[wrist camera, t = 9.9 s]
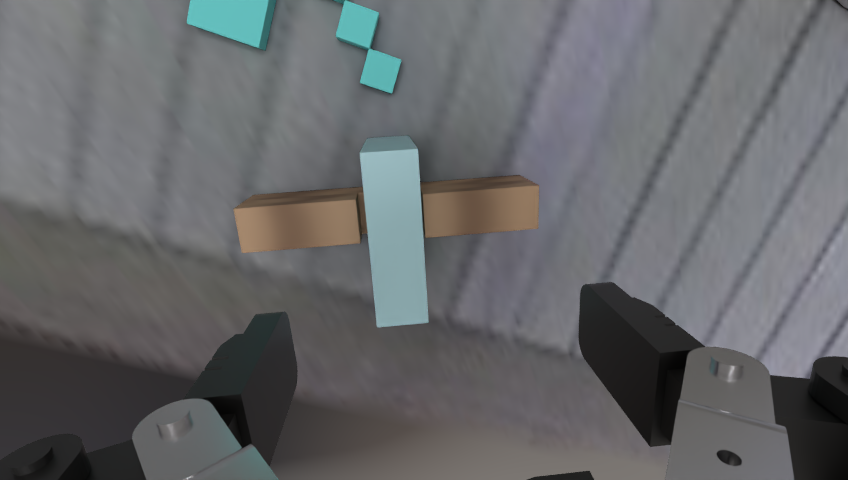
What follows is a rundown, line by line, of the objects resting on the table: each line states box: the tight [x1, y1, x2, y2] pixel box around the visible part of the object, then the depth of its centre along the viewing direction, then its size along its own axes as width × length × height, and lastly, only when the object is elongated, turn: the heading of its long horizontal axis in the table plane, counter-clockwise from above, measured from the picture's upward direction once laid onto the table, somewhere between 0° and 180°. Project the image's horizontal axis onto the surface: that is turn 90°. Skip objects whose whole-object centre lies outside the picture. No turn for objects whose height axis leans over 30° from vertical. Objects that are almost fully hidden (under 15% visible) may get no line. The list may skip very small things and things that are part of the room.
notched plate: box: [360, 135, 429, 327], centre depth 29 cm, size 3×10×10 cm, turn 3°
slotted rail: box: [234, 175, 539, 253], centre depth 32 cm, size 20×3×4 cm, turn 94°
